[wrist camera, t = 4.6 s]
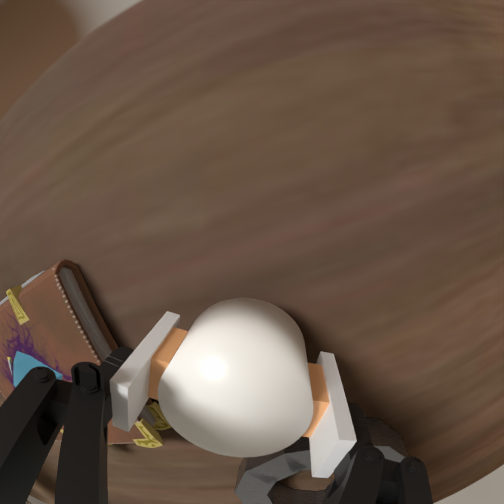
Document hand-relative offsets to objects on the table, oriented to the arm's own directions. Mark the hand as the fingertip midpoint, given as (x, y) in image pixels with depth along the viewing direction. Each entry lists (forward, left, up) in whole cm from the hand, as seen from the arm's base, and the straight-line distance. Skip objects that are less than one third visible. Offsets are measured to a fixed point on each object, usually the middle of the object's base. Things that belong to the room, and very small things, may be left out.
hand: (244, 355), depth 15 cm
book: (-17, -12, -3) cm, 21 cm away
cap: (0, 0, 0) cm, 0 cm away
